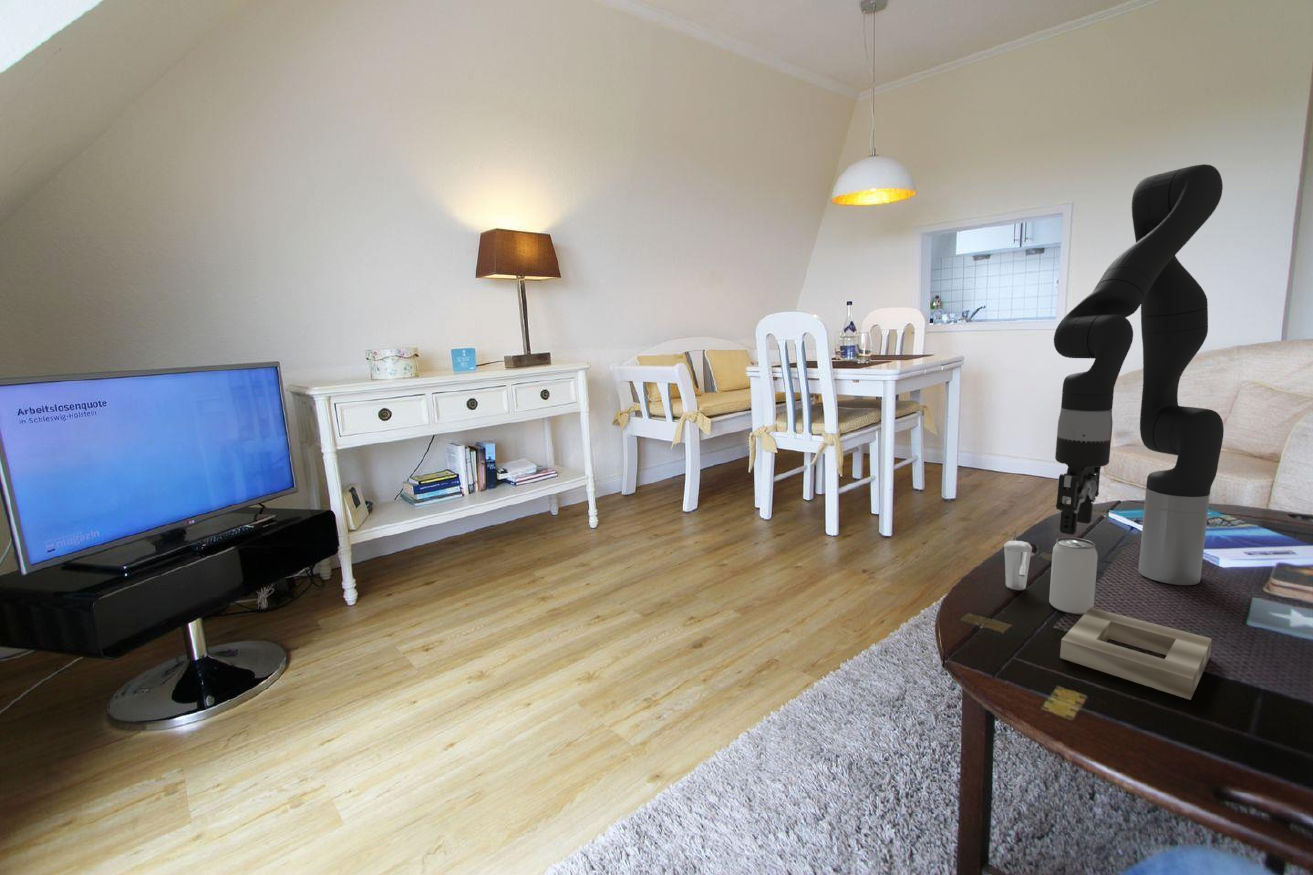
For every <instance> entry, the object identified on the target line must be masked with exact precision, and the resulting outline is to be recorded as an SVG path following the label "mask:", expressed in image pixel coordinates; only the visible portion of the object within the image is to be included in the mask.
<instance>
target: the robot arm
mask: <svg viewBox="0 0 1313 875" xmlns="http://www.w3.org/2000/svg"><path fill="white" fill-rule="evenodd" d="M1223 189H1224V188H1223V180H1222V175H1221V174H1220V172H1219V170H1218V169H1217V168H1216V167H1215V166H1213V165H1211V164H1203V163H1202V164H1197V165H1196V164H1195V165H1191V166H1187V167H1183V168H1179V169H1174V170H1169V171H1167V172H1166V171H1165V172H1163V173H1158V174H1154V175H1151V176H1147V177H1144V178H1143V179H1141V180H1140V181H1139V182H1137V184H1136V186H1135V188H1134V191H1133V193H1132V199H1131V217H1132V224H1133V225H1132V226H1133V231H1134V237H1135V238H1134V239H1135V243H1133V245H1131V246H1129V247H1128V248H1127V249H1126V250H1124V251H1123V252H1122V253H1121V254H1119V255H1118V256H1117V257H1116V259H1114V260H1113V262H1111V263H1110V265H1109V266H1108V267H1107V269H1106V270H1105V272H1104V273H1103V275H1102V276H1101V278H1100V279H1099V281H1098V283H1097V284H1096V286H1095V287H1094V289H1093V290H1092V292H1091V293H1090V294H1088V295H1087V296H1086V297H1085V298H1083V299H1082V301H1080V302H1079V303H1078V304H1077V305H1076V306H1075V307H1073V309H1071V310H1070V311H1069V312H1068V313H1067V314H1066V315H1064V317H1063V318H1062V319H1061V321H1060V322H1059V323H1058V325H1057V327H1056V329H1055V332H1054V335H1053V346H1054V349H1055V350H1056V352H1057V353H1058V354H1059V355H1060V356H1062V357H1065V358H1069V359H1094V362H1093V363H1092V365H1091V367H1090V368H1089V369H1088V370H1087V371H1083V372H1076V373H1072V374H1071V373H1070V374H1069V375H1067V376H1066V377H1065V378H1064V379H1063V382H1062V390H1061V391H1062V392H1061V404H1060V407H1061V408H1060V413H1059V416H1058V420H1057V430H1056V431H1057V432H1056V444H1055V455H1054V456H1055V457H1054V458H1055V461H1056V462H1058V463H1060V464H1064V465H1066V466H1067V470H1066V472H1065V473H1064V474H1061V473H1060V474H1059V476H1058V488H1057V496H1056V498H1057V499H1056V505H1055V509H1056V510H1058V511H1060V522H1059V531H1060V533H1062V534H1066V535H1071V536H1073V535H1075V534H1076V533H1077V527H1078V523H1082V524H1086V525H1087V524H1090V523H1091V522H1092V514H1093V507H1094V506H1093V505H1094V504H1093V503H1094V502H1096V499H1097V498H1098V497H1099V494H1100V492H1099V490H1100V489H1099V488H1100V477H1101V468H1102V467H1105V466H1107V465H1108V464H1109V462H1110V454H1111V445H1112V444H1111V443H1112V436H1113V435H1112V434H1113V426H1114V425H1113V404H1114V392H1115V386H1116V383H1117V380H1118V377H1119V374H1120V372H1121V369H1122V367H1123V365H1124V362H1125V359H1126V358H1127V355H1128V353H1129V351H1130V349H1131V348H1132V347H1131V346H1132V344H1133V340H1134V339H1133V338H1134V328H1133V326H1132V324H1131V322H1130V320H1129V319H1128V317H1130V316H1132V315H1133V314H1135V313H1136V312H1137V311H1138V309H1139V308H1140V324H1141V325H1140V328H1141V339H1142V340H1141V341H1142V375H1143V376H1142V378H1143V379H1142V393H1141V406H1140V415H1139V416H1140V417H1139V432H1140V439H1141V442H1142V444H1143V445H1144V446H1145V448H1147V449H1148V450H1150V451H1153V452H1156V453H1161V454H1166V455H1173V456H1177V459H1176V463H1175V465H1174V467H1172V468H1170V469H1164V470H1157V471H1152V472H1150V473H1149V474H1148V476H1147V479H1146V484H1145V485H1146V486H1145V487H1146V488H1145V495H1144V496H1145V498H1144V508H1143V517H1142V518H1143V520H1142V531H1141V541H1140V549H1139V550H1140V551H1139V560H1138V569H1137V571H1138V573H1139V574H1140V575H1141V576H1143V577H1145V578H1148V579H1150V580H1153V581H1156V582H1160V583H1163V584H1169V585H1176V586H1193V585H1197V584H1199V583H1200V582H1201V576H1202V567H1203V559H1204V550H1205V543H1206V542H1205V541H1206V533H1207V525H1208V524H1207V523H1208V514H1209V507H1210V506H1209V504H1210V503H1209V502H1210V496H1211V489H1212V485H1213V484H1214V481H1215V479H1216V476H1217V473H1218V468H1219V462H1220V455H1221V452H1222V451H1221V450H1222V446H1223V441H1224V440H1223V439H1224V421H1223V419H1222V417H1221V415H1220V414H1219V413H1218V412H1217V411H1215V410H1213V409H1209V408H1203V407H1195V406H1194V407H1193V406H1184V405H1183V406H1181V405H1179V402H1178V399H1179V398H1178V394H1179V384H1180V380H1181V377H1182V375H1183V373H1184V371H1185V370H1186V368H1187V367H1188V365H1189V364H1190V363H1191V361H1192V360H1193V359H1194V357H1195V356H1196V355H1197V353H1198V352H1199V351H1200V349H1201V347H1202V346H1203V344H1204V342H1205V341H1206V339H1207V336H1208V332H1209V314H1208V313H1209V310H1208V307H1209V303H1208V298H1207V297H1208V296H1207V295H1206V293H1205V290H1204V289H1203V288H1202V286H1201V285H1200V284H1199V282H1198V281H1197V280H1196V279H1195V278H1194V276H1193V275H1192V274H1191V273H1190V272H1189V271H1188V270H1187V269H1186V268H1185V267H1184V266H1183V264H1182V263H1181V262H1180V261H1179V259H1178V258H1177V256H1176V255H1177V253H1179V252H1180V250H1181V249H1182V248H1183V247H1184V246H1185V245H1186V244H1187V243H1188V242H1189V241H1190V240H1191V238H1192V237H1193V236H1194V235H1195V234H1196V233H1197V232H1198V230H1199V229H1200V228H1201V227H1202V226H1203V225H1204V224H1205V223H1206V221H1208V219H1209V218H1210V217H1211V216H1212V215H1213V213H1214V212H1215V210H1216V209H1217V207H1218V205H1219V203H1220V201H1221V199H1222V195H1223ZM1068 501H1070V503H1067V502H1068Z"/></svg>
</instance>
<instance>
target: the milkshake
mask: <svg viewBox="0 0 1313 875" xmlns="http://www.w3.org/2000/svg"><path fill="white" fill-rule="evenodd" d="M1012 533H1013V535H1012V536H1013V540H1008V541H1006V542H1005V543H1004V544H1003V549H1004V550H1003V552H1004V569H1005V574H1004V575H1005V586H1006V588H1008V589H1010V590H1015V591H1024V590H1025V589H1026V588H1027V582H1028V575H1029V569H1030V568H1029V567H1030V561H1031V558H1032V557H1031V556H1032V551H1033V547H1032V546H1031V544H1030V543H1029V542H1027V541H1022V540H1017V532H1016V531H1013V532H1012Z"/></svg>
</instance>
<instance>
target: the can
mask: <svg viewBox="0 0 1313 875" xmlns="http://www.w3.org/2000/svg"><path fill="white" fill-rule="evenodd" d="M1098 557H1099V556H1098V551H1097V550H1096V544H1095V543H1094V542H1093V541H1091V540H1088V539H1083V538H1079V537H1073V536H1066V537H1065V536H1064V537H1059V538H1057V539H1056V543H1055V545H1053V548H1052V557H1051V558H1052V559H1051V568H1050V569H1051V570H1050V571H1051V572H1050V583H1049V585H1050V586H1049V599H1048V600H1049V604H1050V605H1051V606H1052V608H1054V609H1055V610H1058V611H1060V612H1063V613H1066V614H1070V615H1081V616H1083V615H1084V614H1085V613H1086V612H1087V611H1088V610H1089V609H1090V607H1092V608H1094V607H1095V606H1094V604H1095V594H1096V593H1095V592H1096V581H1097V580H1096V579H1097V571H1098Z"/></svg>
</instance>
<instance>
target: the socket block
mask: <svg viewBox="0 0 1313 875" xmlns="http://www.w3.org/2000/svg"><path fill="white" fill-rule="evenodd" d="M1109 640H1111V641H1115V642H1119V643H1122V644H1125V645H1129V646H1132V647H1136V648H1138V649H1143V650H1147V651H1151V652H1153V653H1156V654H1160V655H1164V656H1166V657H1165V658H1163V657H1162V658H1161V657H1158V656H1156V655H1152V654H1151V655H1150V654H1148V653H1144V652H1140V651H1137V650H1134V649H1130V648H1127V647H1123V646H1120V645H1116V644H1113V643H1110V642H1108V641H1109ZM1212 642H1213V641H1212V638H1210V637H1206V636H1203V635H1199V634H1195V633H1192V632H1188V631H1184V630H1180V629H1175V628H1173V627H1169V626H1164V625H1161V624H1157V623H1153V622H1149V621H1145V620H1143V619H1142V620H1141V619H1137V618H1134V617H1129V616H1125V615H1121V614H1119V613H1113V612H1111V611H1106V610H1102V609H1098V608H1096V607H1095V608H1094V607H1093V608H1092V607H1090V609H1089V610H1088V611H1087V612H1086V613H1085V614H1083V615H1081V617H1080V618H1079V619H1078V621H1077V622H1076V623H1075V624H1074V625H1073V626H1072V627H1071V628H1070V629H1069V631H1068V632H1067V633H1066V634H1065V635H1064V636H1063V637H1062V638H1061V640H1060V651H1059V652H1060V653H1059V658H1060V659H1062V660H1065V661H1069V662H1071V663H1074V664H1078V665H1081V666H1084V667H1086V668H1090V669H1093V670H1097V671H1100V672H1102V673H1106V674H1109V675H1111V676H1115V677H1119V678H1122V679H1124V680H1127V681H1131V682H1134V683H1136V684H1140V685H1143V686H1145V687H1150V688H1153V689H1155V690H1157V691H1161V692H1165V693H1168V694H1171V695H1173V696H1177V697H1180V698H1184V699H1186V700H1190V701H1191V700H1192V698H1193V695H1194V693H1195V691H1196V689H1197V687H1198V684H1199V682H1200V681H1201V678H1202V675H1203V673H1204V672H1205V669H1206V666H1207V664H1208V662H1209V660H1210V656H1211V648H1212Z"/></svg>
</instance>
